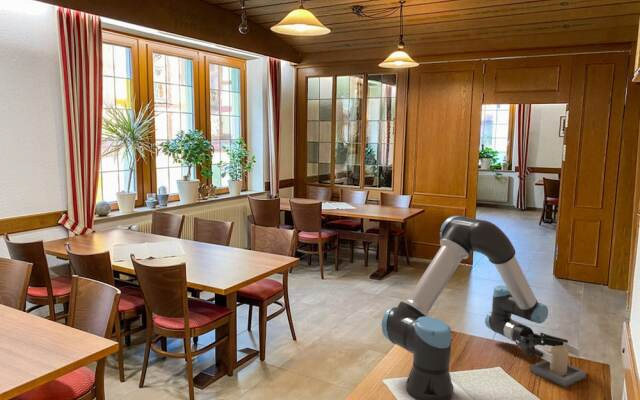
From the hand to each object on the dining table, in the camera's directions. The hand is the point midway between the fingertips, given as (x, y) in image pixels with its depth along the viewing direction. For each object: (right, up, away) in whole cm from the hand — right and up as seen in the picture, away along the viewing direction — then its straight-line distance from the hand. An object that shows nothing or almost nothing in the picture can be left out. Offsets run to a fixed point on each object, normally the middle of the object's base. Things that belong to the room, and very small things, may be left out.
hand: (565, 355), depth 170 cm
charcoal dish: (-1, -8, +3) cm, 9 cm away
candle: (-1, -7, +3) cm, 8 cm away
